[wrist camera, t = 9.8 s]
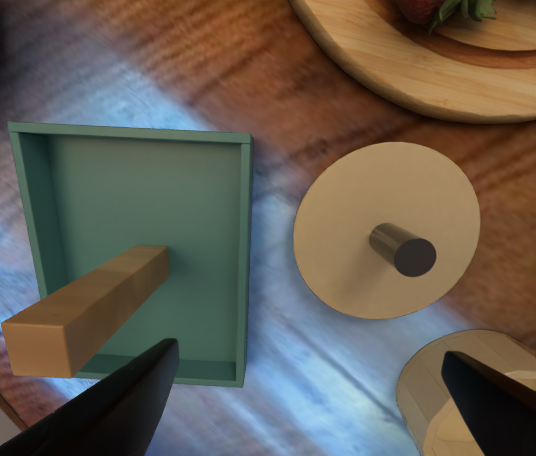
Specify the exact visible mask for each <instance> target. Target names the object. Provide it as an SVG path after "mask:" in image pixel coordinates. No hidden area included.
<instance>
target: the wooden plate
mask: <svg viewBox="0 0 536 456" xmlns="http://www.w3.org/2000/svg"><path fill="white" fill-rule="evenodd" d="M288 2H289V4H290V6H291V7H292V9H293V11H294V12H295V14H296V15H297V16H298V18H299V19H300V21H301V22H302V24H303V25H304V27H305V28H306V30H307V31H308V32H309V34H310V35H311V36H312V37H313V39H314V40H315V41H316V42H317V44H318V45H319V46H320V47H321V49H322V50H323V51H324V52H325V54H326V55H327V56H328V57H329V58H330V59H331V60H333V61H334V62H335V63H336V64H337V65H338V66H339V67H340V68H341V69H342V70H343V71H345V72H346V73H347V74H348V75H350V76H351V77H352V78H354V79H355V80H356V81H357V82H359V83H360V84H361V85H363V86H365V87H366V88H368V89H369V90H371V91H372V92H374V93H375V94H377V95H379V96H381V97H382V98H384V99H386V100H388V101H389V102H392V103H394V104H396V105H399V106H401V107H403V108H405V109H408V110H410V111H412V112H415V113H417V114H420V115H424V116H427V117H431V118H436V119H441V120H447V121H454V122H461V123H471V124H500V123H520V122H525V121H531V120H536V0H288Z"/></svg>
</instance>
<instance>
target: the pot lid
mask: <svg viewBox="0 0 536 456" xmlns="http://www.w3.org/2000/svg"><path fill="white" fill-rule="evenodd" d="M479 233H480V209H479V205H478V200H477V196H476V194H475V192H474V189H473V187H472V185H471V183H470V181H469V180H468V178H467V177H466V175H465V174H464V173H463V172H462V170H461V169H460V168H459V167H458V166H457V165H456V164H455V163H454V162H452V161H451V160H450V159H449V158H447V157H446V156H444V155H443V154H441V153H439V152H438V151H435V150H433V149H431V148H428V147H426V146H422V145H418V144H415V143H407V142H385V143H379V144H373V145H369V146H366V147H362V148H359V149H357V150H355V151H352V152H350V153H348V154H346V155H344V156H343V157H341V158H339V159H337V160H336V161H335V162H333V163H332V164H331V165H329V166H328V167H327V168H326V169H325V170H324V171H323V172H322V173H321V174H320V175H319V176H318V177H317V178H316V179H315V180H314V181H313V183H312V184H311V185H310V187H309V188H308V190H307V191H306V193H305V195H304V196H303V198H302V200H301V203H300V205H299V207H298V210H297V213H296V217H295V221H294V227H293V249H294V255H295V259H296V263H297V266H298V269H299V271H300V273H301V276H302V277H303V279H304V281H305V282H306V284H307V285H308V287H309V288H310V289H311V290H312V292H313V293H314V294H315V295H316V296H317V297H318V298H319V299H321V300H322V301H323V302H324V303H326V304H327V305H329V306H330V307H332V308H334V309H336V310H338V311H340V312H342V313H345V314H347V315H350V316H354V317H359V318H365V319H389V318H396V317H400V316H405V315H408V314H411V313H414V312H416V311H418V310H421V309H423V308H425V307H427V306H428V305H430V304H432V303H433V302H435V301H437V300H438V299H439V298H440V297H442V296H443V295H444V294H446V293H447V292H448V291H449V290H450V289H451V288H452V287H453V286H454V285H455V284H456V283H457V281H458V280H459V279H460V278H461V276H462V275H463V273H464V272H465V270H466V269H467V267H468V266H469V264H470V262H471V259H472V257H473V255H474V253H475V250H476V247H477V244H478V239H479Z"/></svg>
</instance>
